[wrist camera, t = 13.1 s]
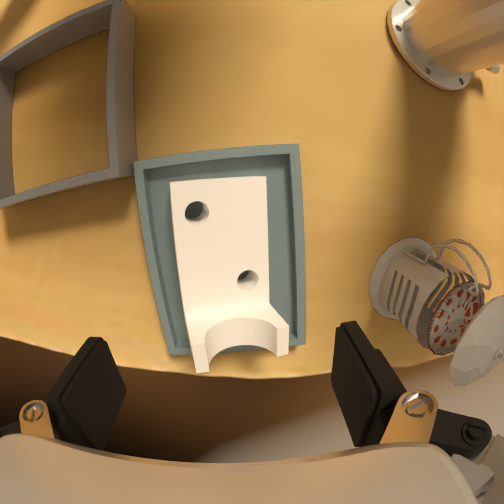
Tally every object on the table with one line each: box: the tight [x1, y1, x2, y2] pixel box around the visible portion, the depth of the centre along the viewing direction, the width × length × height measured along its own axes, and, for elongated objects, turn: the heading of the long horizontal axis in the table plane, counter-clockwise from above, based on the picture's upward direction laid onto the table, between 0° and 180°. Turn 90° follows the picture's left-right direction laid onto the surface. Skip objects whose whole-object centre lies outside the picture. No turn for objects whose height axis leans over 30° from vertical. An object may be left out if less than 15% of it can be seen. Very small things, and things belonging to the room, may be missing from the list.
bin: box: [0, 0, 137, 209], centre depth 19 cm, size 18×18×4 cm
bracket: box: [169, 176, 289, 373], centre depth 21 cm, size 13×7×8 cm, turn 2°
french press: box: [369, 238, 504, 386], centre depth 15 cm, size 10×12×25 cm
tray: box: [133, 144, 306, 355], centre depth 25 cm, size 14×19×2 cm
